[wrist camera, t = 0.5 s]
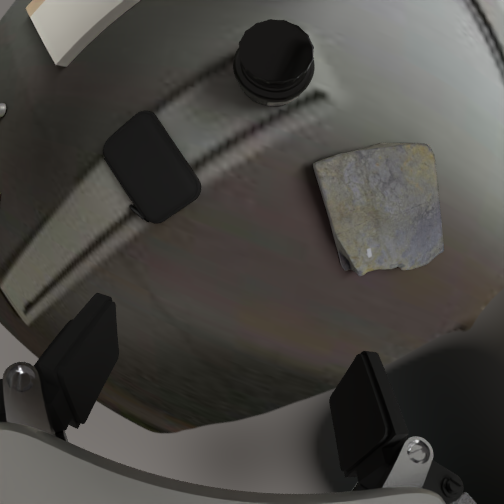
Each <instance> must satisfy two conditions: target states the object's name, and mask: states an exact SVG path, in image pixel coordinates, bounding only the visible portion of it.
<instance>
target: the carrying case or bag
mask: <svg viewBox="0 0 504 504" xmlns="http://www.w3.org/2000/svg"><path fill="white" fill-rule="evenodd" d="M103 153H104V157H105V158H104V160H105V161H106V162H107V164H108V165H109V167H110V168H111V170H112V172H113V173H114V175H115V176H116V178H117V179H118V181H119V182H120V184H121V185H122V187H123V189H124V190H125V192H126V193H127V195H128V196H129V198H130V199H131V201H132V202H133V203H134V205H135V206H136V207H135V206H134V205H130V208H131V210H132V211H134V212H135V213H136V214H137V215H138V216H139V217H141V218H142V219H145V220H146V221H147V222H149V221H150V222H152V223H161V222H163V221H165V220H166V219H168V218H169V217H171V216H172V215H174V214H175V213H176V212H178V211H179V210H181V209H182V208H184V207H185V206H187V205H188V204H190V203H191V202H193V201H194V200H196V199H197V198H198V196H199V195H200V192H201V183H200V181H199V179H198V178H197V176H196V175H195V173H194V172H193V170H192V169H191V167H190V166H189V164H188V163H187V161H186V160H185V158H184V157H183V155H182V154H181V152H180V151H179V149H178V148H177V146H176V145H175V143H174V142H173V140H172V139H171V137H170V136H169V134H168V133H167V131H166V130H165V128H164V127H163V125H162V124H161V122H160V121H159V119H158V118H157V117H156V115H155V114H154V113H152V112H150V111H141V112H138V113H137V114H136V115H135V116H133V117H132V118H131V119H130V120H129V121H127V122H126V123H125V124H124V125H123V126H122V127H121V128H119V129H118V130H117V131H116V132H115V133H114V134H113V135H112V136H111V137H110V138H108V140H107V141H106V142H105V145H104V149H103Z"/></svg>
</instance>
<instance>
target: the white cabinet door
mask: <svg viewBox="0 0 504 504" xmlns="http://www.w3.org/2000/svg"><path fill="white" fill-rule="evenodd" d="M139 1H141V0H32V2H31V3H30V4H29V5H28V6H27V7H26V10H27V12H28V14H29V16H30V18H31V20H32V22H33V24H34V26H35V28H36V30H37V32H38V33H39V35H40V37H41V39H42V41H43V43H44V45H45V47H46V48H47V50H48V52H49V54H50V56H51V57H52V59H53V61H54V63H55V64H56V65H59V66H64V67H67V66H68V65H69V64H70V63H71V62H72V61H73V60H74V59H75V58H76V56H77V55H78V54H79V53H80V52H81V51H82V50H83V49H84V48H85V47H86V46H87V45H88V44H89V43H90V42H92V41H93V40H94V39H95V38H96V37H97V36H98V35H99V34H100V33H101V32H102V31H103V30H105V29H106V28H107V27H108V26H109V25H110V24H111V23H113V22H114V21H115V20H116V19H117V18H119V17H120V16H121V15H122V14H124V13H125V12H126V11H127V10H129V9H130V8H131V7H133V6H134V5H135V4H137V3H138V2H139Z"/></svg>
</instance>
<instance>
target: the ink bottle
mask: <svg viewBox="0 0 504 504" xmlns="http://www.w3.org/2000/svg"><path fill="white" fill-rule="evenodd" d="M313 49H314V46H313V45H312V43H311V41H310V38H309V36H308V34H306V33H305V32H304V31H303V30H302V29H301V28H300V27H299V26H297V25H294V24H292V23H289V22H287V21H285V20H272V19H270V20H267V21H263V22H260V23H256V24H255V25H254V26H252V27H251V28H250V29H248V30H246V31H245V34H244V35H243V37H242V39H241V41H240V42H239V48H238V50H237V52H236V54H235V57H234V62H233V69H234V74H235V77H236V79H237V81H238V83H239V85H240V87H241V89H242V90H243V92H244V93H245V94H246V95H247V96H248V97H249V98H251V99H252V100H254V101H255V102H258V103H260V104H263V105H267V106H281V105H285V104H288V103H290V102H292V101H293V100H295V99H296V98H297V97H298V96H299V95H300V94H301V93H302V92H303V91H304V90H305V89H306V88H307V86H308V85H309V83H310V82H311V80H312V77H313V74H314V57H313Z"/></svg>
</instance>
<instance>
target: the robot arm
mask: <svg viewBox="0 0 504 504" xmlns="http://www.w3.org/2000/svg"><path fill="white" fill-rule="evenodd" d="M118 356H119V348H118V337H117V323H116V305H115V302H112V298H111V297H109V296H106V295H103V294H100V293H96V294H95V295H94V296H93V297H92V298H91V300H90V301H89V302H88V303H87V304H86V305H85V307H84V308H83V309H82V310H81V311H80V312H79V314H78V315H77V316H76V317H75V318H74V320H70V321H69V322H68V323H67V324H66V325H65V327H64V328H63V329H62V330H61V331H60V333H59V334H58V335H57V336H56V338H55V339H54V340H53V341H52V343H51V344H50V345H49V347H48V348H47V349H46V350H45V352H44V353H43V354H42V356H41V357H40V358H39V360H38V361H37V363H36V364H35V365H34V366H32V365H31V364H29V363H26V362H17V363H14V364H12V365H10V366H9V367H8V368H7V369H6V370H5V372H4V374H3V379H0V504H476V503H475V502H474V500H473V499H472V498H471V497H470V496H469V495H468V494H467V493H466V492H465V493H463V483H462V481H461V479H460V478H459V477H458V476H457V475H456V474H454V473H453V472H451V471H449V470H447V469H446V468H444V467H443V466H441V465H440V464H438V463H436V462H435V461H433V460H432V459H433V450H432V448H431V445H430V444H429V443H428V442H427V441H426V440H425V439H423V438H421V437H411V438H409V439H408V436H407V435H408V434H409V432H408V429H407V427H406V424H405V421H404V418H403V416H402V413H401V410H400V407H399V405H398V402H397V399H396V397H395V394H394V392H393V389H392V387H391V384H390V382H389V379H388V377H387V374H386V372H385V369H384V367H383V365H382V362H381V360H380V357H379V355H378V353H376V352H369V351H363V352H361V354H358V355H357V356H356V357H355V359H354V361H353V362H352V364H351V366H350V367H349V369H348V370H347V372H346V373H345V375H344V377H343V378H342V380H341V381H340V383H339V384H338V386H337V387H336V389H335V390H334V392H333V393H332V395H331V397H330V402H329V403H330V409H331V414H332V420H333V425H334V430H335V437H336V442H337V449H338V455H339V461H340V467H341V470H342V471H344V473H345V477H356V476H357V477H358V483H357V484H356V486H355V487H354V489H353V490H352V491H351V492H340V493H324V494H273V493H257V492H245V491H236V490H228V489H221V488H215V487H209V486H203V485H198V484H192V483H188V482H183V481H179V480H175V479H170V478H166V477H162V476H159V475H155V474H152V473H148V472H145V471H141V470H138V469H135V468H132V467H129V466H126V465H123V464H121V463H118V462H115V461H112V460H110V459H107V458H104V457H102V456H99V455H97V454H94V453H92V452H89V451H87V450H85V449H82V448H80V447H78V446H75V445H73V444H71V443H69V442H68V439H67V436H66V433H65V430H66V429H67V427H68V425H71V426H73V427H75V428H77V429H78V427H79V425H80V423H82V424H84V423H85V422H86V420H87V418H88V416H89V414H90V412H91V409H92V408H93V406H94V404H95V402H96V400H97V398H98V396H99V394H100V392H101V390H102V388H103V386H104V384H105V382H106V380H107V378H108V377H109V375H110V373H111V371H112V369H113V367H114V365H115V363H116V362H117V359H118Z"/></svg>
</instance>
